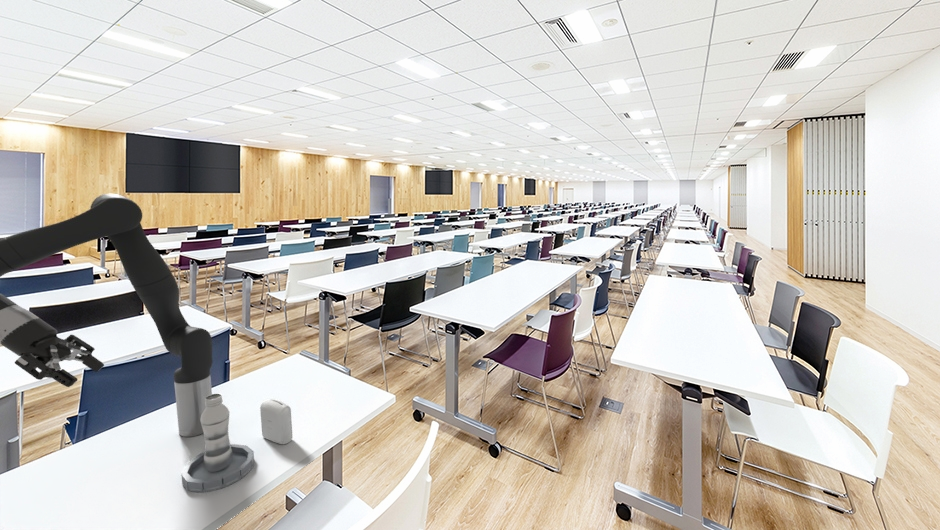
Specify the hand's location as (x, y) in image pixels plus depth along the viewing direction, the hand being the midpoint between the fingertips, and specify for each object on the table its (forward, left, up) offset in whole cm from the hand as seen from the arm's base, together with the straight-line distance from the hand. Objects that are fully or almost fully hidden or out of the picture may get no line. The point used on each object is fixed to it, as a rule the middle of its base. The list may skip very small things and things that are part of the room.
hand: (87, 375), depth 90 cm
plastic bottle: (-13, +20, -30) cm, 39 cm away
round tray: (-13, +21, -31) cm, 39 cm away
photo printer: (-29, +27, -31) cm, 50 cm away
